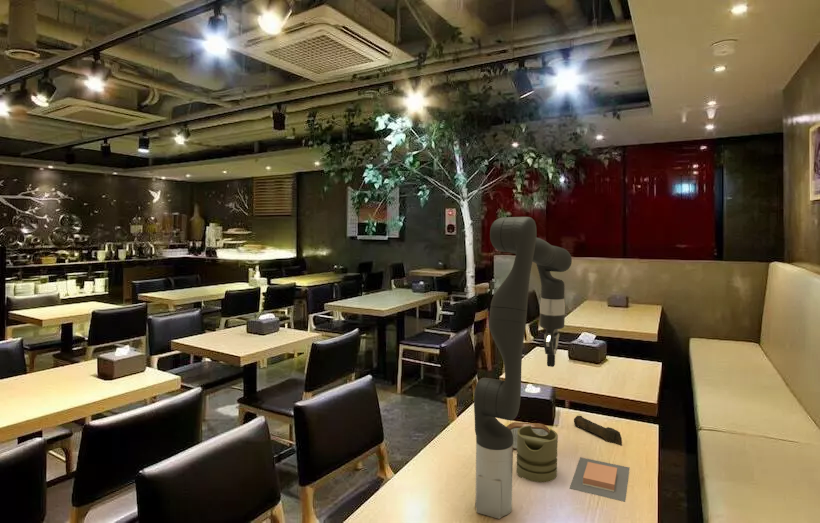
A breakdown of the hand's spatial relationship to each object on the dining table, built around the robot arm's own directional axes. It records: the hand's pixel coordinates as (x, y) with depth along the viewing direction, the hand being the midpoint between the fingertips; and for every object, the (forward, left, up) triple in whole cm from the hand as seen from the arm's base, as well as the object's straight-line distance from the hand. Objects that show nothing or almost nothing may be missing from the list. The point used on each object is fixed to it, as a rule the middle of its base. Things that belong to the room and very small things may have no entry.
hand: (550, 365), depth 157 cm
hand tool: (+17, -13, -27) cm, 35 cm away
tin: (-4, +6, -27) cm, 28 cm away
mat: (-13, -17, -27) cm, 34 cm away
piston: (-18, 0, -27) cm, 33 cm away
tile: (-9, -17, -26) cm, 32 cm away
